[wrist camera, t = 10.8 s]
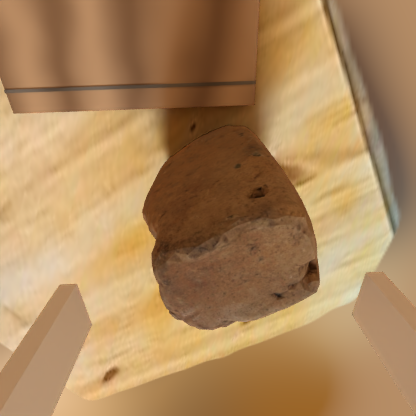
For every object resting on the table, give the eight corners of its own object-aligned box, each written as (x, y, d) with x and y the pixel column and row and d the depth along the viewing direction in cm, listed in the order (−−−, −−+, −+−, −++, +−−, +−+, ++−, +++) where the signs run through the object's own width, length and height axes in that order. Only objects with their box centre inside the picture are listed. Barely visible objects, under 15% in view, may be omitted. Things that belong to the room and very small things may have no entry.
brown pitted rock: (246, 113, 27) (320, 187, 10) (265, 174, 30) (348, 312, 13) (157, 152, 29) (81, 272, 11) (184, 205, 32) (159, 362, 15)
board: (26, 110, 27) (13, 113, 25) (-16, -10, 22) (-36, -18, 20) (251, 102, 27) (254, 105, 25) (256, -21, 22) (261, -30, 20)
